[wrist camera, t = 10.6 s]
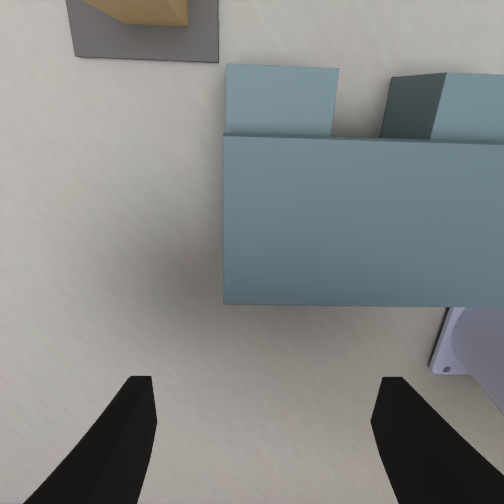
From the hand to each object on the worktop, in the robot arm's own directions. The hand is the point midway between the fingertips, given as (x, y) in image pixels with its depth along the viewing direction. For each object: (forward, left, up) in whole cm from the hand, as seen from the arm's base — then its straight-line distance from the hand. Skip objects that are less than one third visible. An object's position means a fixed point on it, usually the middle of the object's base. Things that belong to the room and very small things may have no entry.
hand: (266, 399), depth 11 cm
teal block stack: (-4, -6, -9) cm, 12 cm away
